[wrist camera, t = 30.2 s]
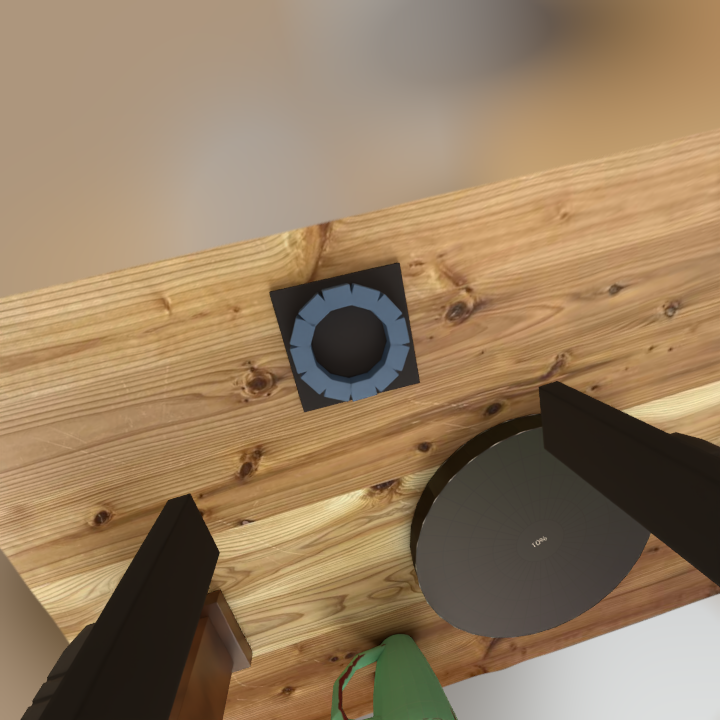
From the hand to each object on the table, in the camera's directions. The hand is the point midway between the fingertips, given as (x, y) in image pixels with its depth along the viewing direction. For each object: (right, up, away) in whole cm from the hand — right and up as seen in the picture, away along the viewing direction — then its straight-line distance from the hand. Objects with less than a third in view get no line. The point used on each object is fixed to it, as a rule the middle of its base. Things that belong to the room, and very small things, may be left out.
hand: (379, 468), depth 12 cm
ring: (-2, +6, +19) cm, 20 cm away
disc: (+20, -16, +30) cm, 39 cm away
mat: (-2, +6, +20) cm, 21 cm away
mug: (+2, -34, +32) cm, 47 cm away
